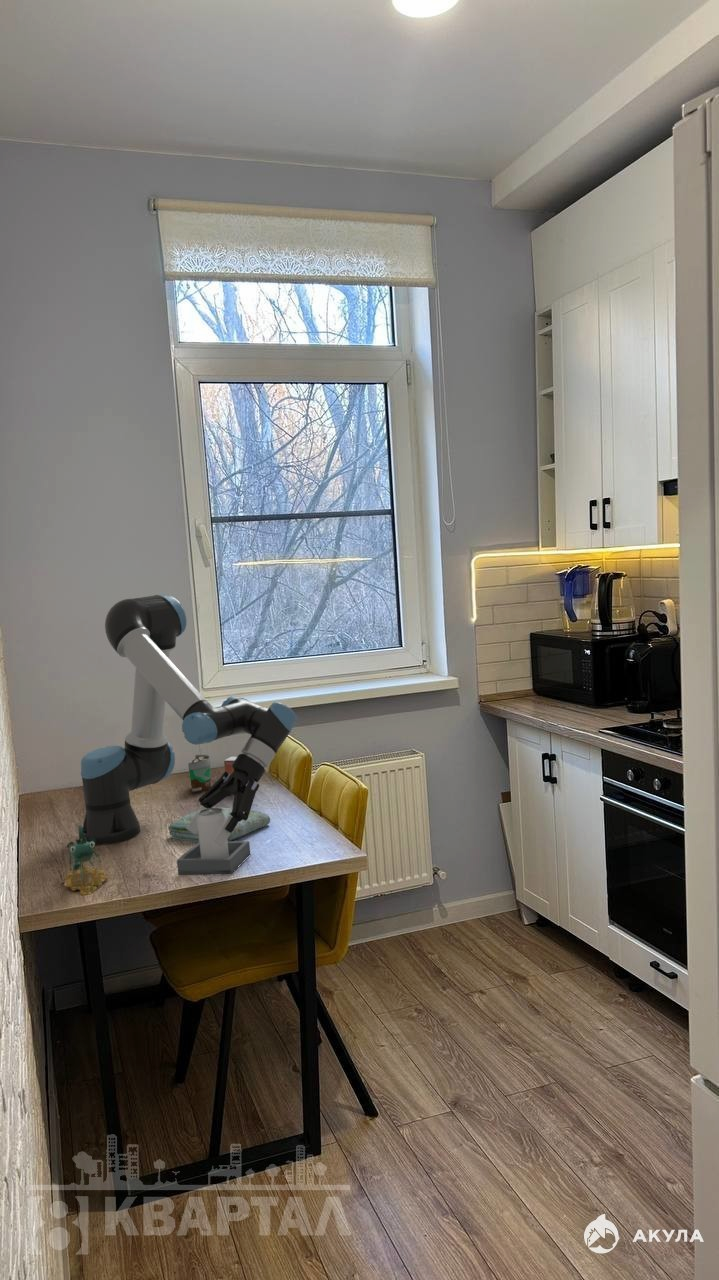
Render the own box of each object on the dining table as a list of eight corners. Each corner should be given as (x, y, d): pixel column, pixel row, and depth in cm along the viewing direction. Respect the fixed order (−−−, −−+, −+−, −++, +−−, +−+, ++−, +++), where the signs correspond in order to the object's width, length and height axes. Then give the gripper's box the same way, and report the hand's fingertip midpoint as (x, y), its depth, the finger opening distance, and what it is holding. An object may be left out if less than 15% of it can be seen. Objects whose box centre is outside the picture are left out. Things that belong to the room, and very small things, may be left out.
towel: (212, 819, 259) (210, 801, 258) (272, 826, 247) (270, 807, 246) (165, 839, 243) (163, 820, 243) (227, 848, 232) (225, 828, 231)
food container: (211, 793, 286) (207, 761, 285) (191, 795, 286) (187, 763, 285) (217, 783, 299) (214, 752, 298) (198, 784, 299) (195, 754, 298)
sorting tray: (178, 874, 214) (176, 860, 213) (200, 855, 226) (198, 841, 226) (231, 874, 211) (229, 859, 210) (250, 855, 223) (249, 841, 223)
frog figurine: (106, 867, 225) (100, 809, 222) (110, 899, 208) (104, 838, 205) (64, 874, 222) (58, 815, 219) (65, 907, 205) (58, 845, 202)
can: (233, 856, 221) (228, 807, 219) (223, 865, 214) (217, 815, 213) (208, 855, 222) (203, 807, 221) (197, 865, 216) (191, 815, 215)
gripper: (291, 776, 216) (241, 856, 208) (238, 762, 236) (191, 834, 228) (269, 759, 212) (218, 839, 205) (217, 746, 232) (169, 819, 225)
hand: (203, 837), depth 217 cm, fingers open, 13 cm apart
